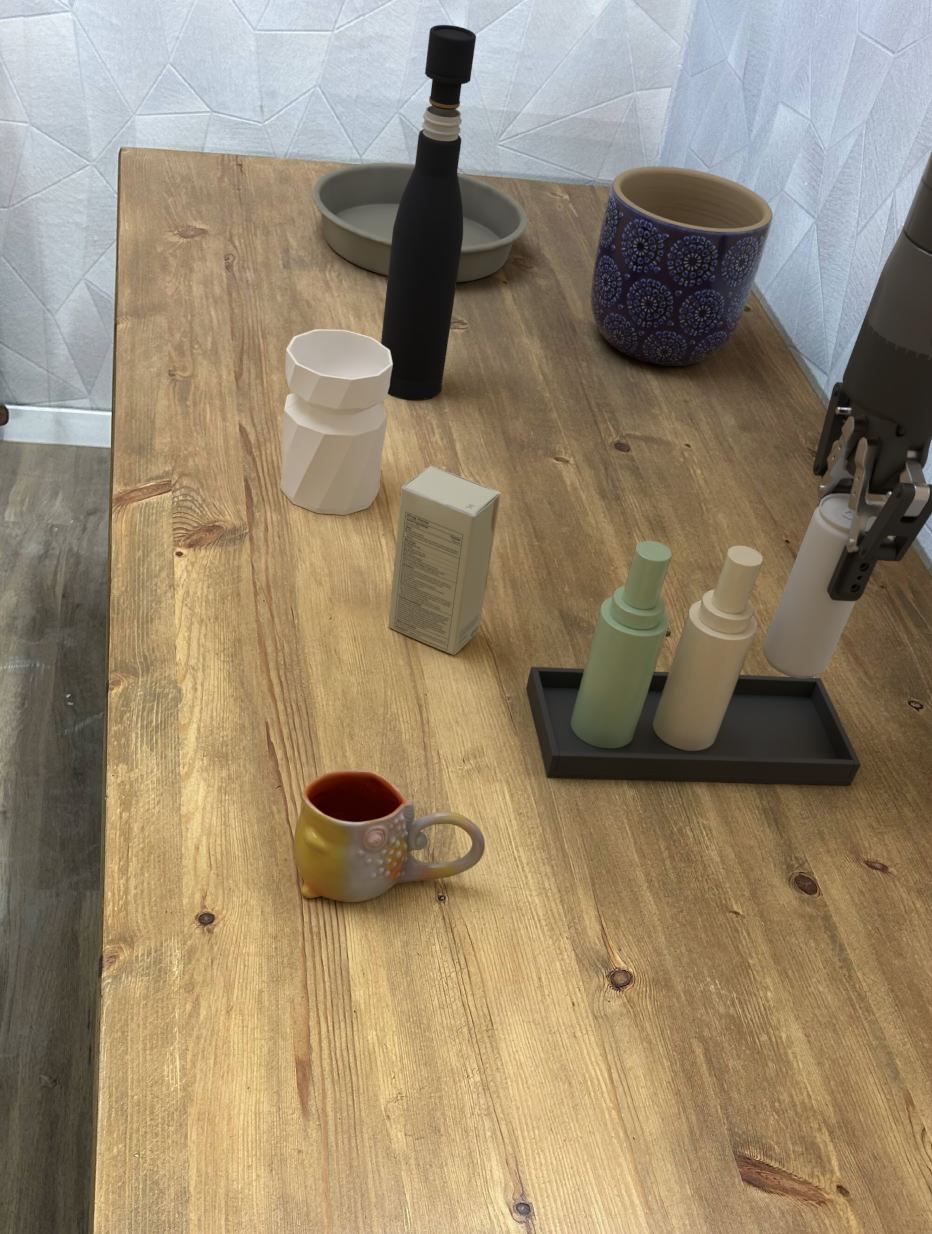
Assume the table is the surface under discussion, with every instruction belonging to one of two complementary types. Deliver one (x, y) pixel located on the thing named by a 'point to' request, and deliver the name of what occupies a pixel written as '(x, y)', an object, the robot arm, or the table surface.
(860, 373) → the robot arm
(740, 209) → the planter
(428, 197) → the black bottle
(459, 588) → the cosmetic box
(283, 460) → the vase
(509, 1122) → the table surface
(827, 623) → the beverage can
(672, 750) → the tray
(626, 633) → the sage bottle
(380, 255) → the cake pan
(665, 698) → the cream bottle
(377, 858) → the mug
